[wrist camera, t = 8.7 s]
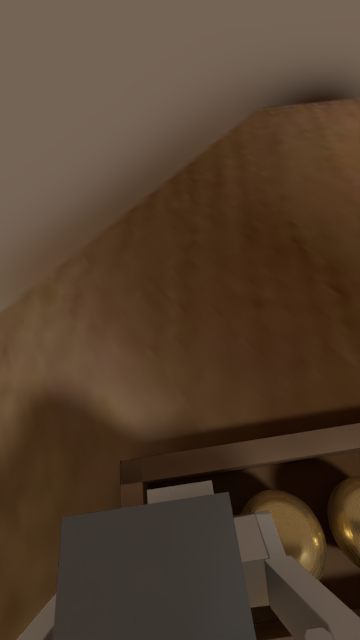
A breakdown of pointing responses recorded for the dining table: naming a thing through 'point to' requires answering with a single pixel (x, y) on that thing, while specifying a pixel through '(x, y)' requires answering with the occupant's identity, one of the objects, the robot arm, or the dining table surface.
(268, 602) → the robot arm
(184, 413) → the dining table surface
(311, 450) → the slot rail
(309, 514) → the brass sphere
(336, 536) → the shiny gold ball
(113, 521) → the long gray brick
